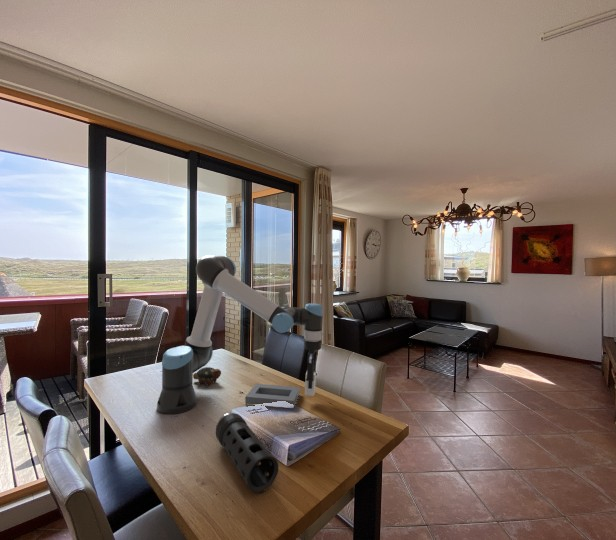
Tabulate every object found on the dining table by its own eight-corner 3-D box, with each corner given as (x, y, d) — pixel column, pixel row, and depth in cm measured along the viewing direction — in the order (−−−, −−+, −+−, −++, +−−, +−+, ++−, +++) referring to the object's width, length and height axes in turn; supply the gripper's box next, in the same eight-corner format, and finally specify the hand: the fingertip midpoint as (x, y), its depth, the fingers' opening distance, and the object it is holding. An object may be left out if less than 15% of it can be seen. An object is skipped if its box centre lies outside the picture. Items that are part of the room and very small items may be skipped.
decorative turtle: (217, 388, 142) (216, 372, 142) (188, 387, 145) (187, 371, 144) (226, 379, 152) (225, 364, 151) (199, 379, 154) (197, 364, 154)
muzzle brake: (245, 503, 75) (246, 462, 75) (213, 445, 98) (213, 414, 98) (279, 488, 80) (280, 450, 80) (240, 436, 103) (241, 407, 103)
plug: (304, 394, 128) (305, 374, 128) (305, 390, 132) (307, 370, 132) (313, 395, 127) (314, 375, 127) (314, 392, 131) (315, 371, 131)
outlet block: (245, 404, 126) (245, 396, 126) (255, 390, 140) (255, 383, 140) (293, 409, 123) (293, 400, 123) (299, 394, 137) (299, 387, 137)
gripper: (319, 345, 120) (317, 402, 120) (323, 335, 137) (321, 385, 137) (301, 344, 121) (298, 400, 122) (307, 334, 138) (305, 384, 138)
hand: (310, 392), depth 129 cm, fingers closed on plug, 4 cm apart
